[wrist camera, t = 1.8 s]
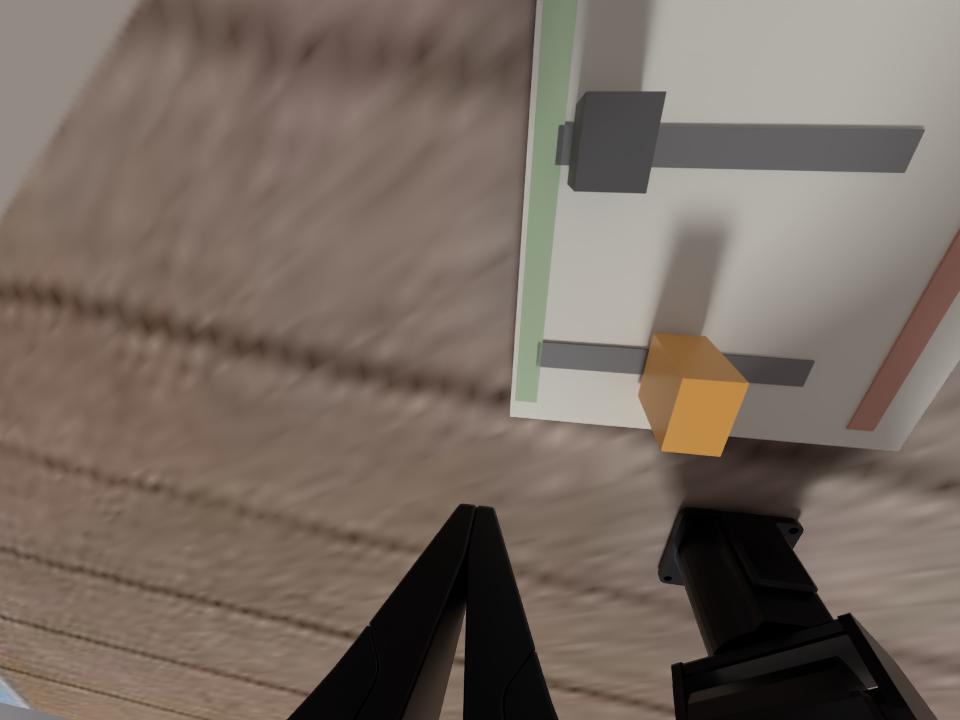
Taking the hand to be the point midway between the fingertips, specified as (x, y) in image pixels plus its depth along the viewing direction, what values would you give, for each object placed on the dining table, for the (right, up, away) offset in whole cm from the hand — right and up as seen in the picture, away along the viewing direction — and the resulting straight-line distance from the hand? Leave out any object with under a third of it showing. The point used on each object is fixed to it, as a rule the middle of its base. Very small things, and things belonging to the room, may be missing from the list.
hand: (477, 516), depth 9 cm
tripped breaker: (+8, +3, +7) cm, 11 cm away
